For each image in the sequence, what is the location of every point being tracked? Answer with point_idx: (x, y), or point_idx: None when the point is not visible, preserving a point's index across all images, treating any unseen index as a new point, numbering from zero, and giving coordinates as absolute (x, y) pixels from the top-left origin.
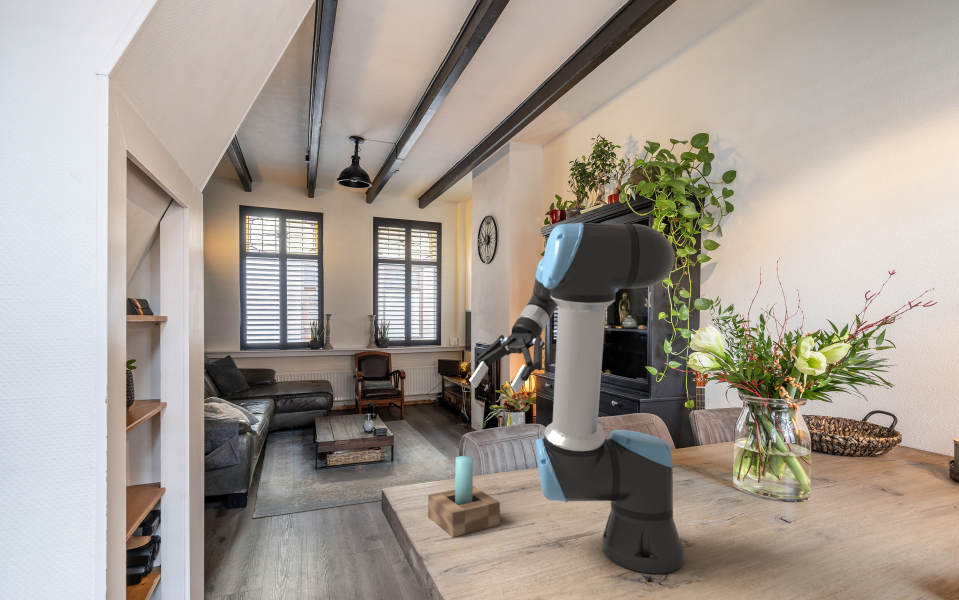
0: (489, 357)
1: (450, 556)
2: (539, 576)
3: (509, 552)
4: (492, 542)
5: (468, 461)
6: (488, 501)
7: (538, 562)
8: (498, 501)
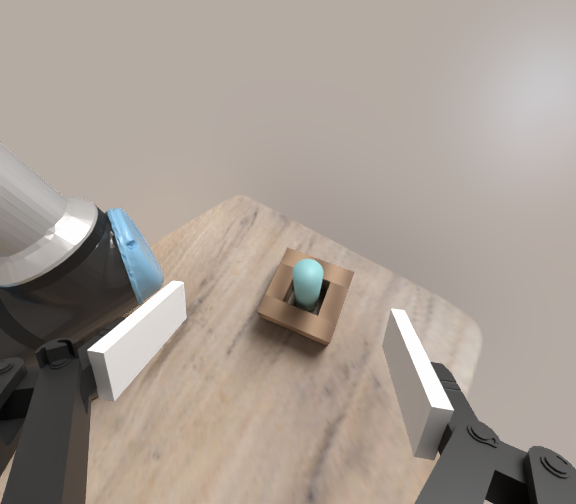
0: (433, 470)
1: (267, 232)
2: (179, 250)
3: (221, 270)
4: (247, 277)
5: (293, 268)
6: (271, 303)
7: (188, 270)
8: (259, 311)
